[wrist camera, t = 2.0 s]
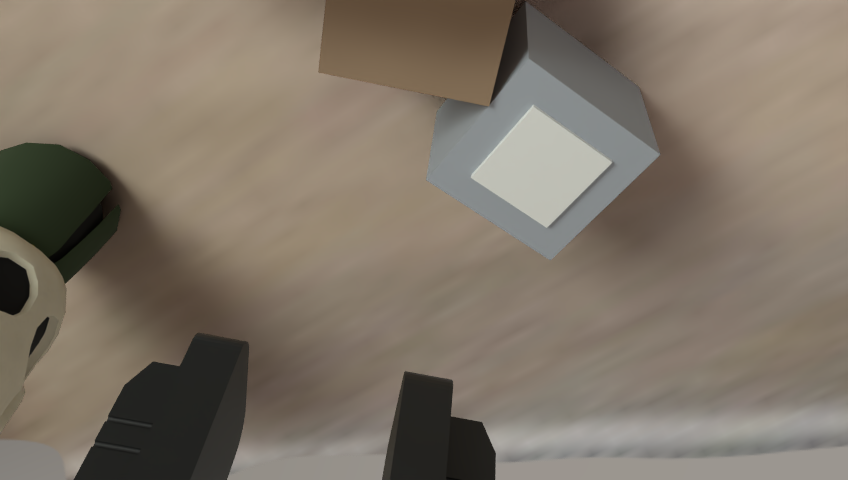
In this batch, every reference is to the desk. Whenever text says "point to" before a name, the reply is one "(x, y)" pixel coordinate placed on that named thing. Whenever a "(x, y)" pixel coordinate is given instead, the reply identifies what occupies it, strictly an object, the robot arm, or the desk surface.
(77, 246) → the character mug
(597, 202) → the grey block
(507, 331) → the desk surface
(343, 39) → the walnut block
